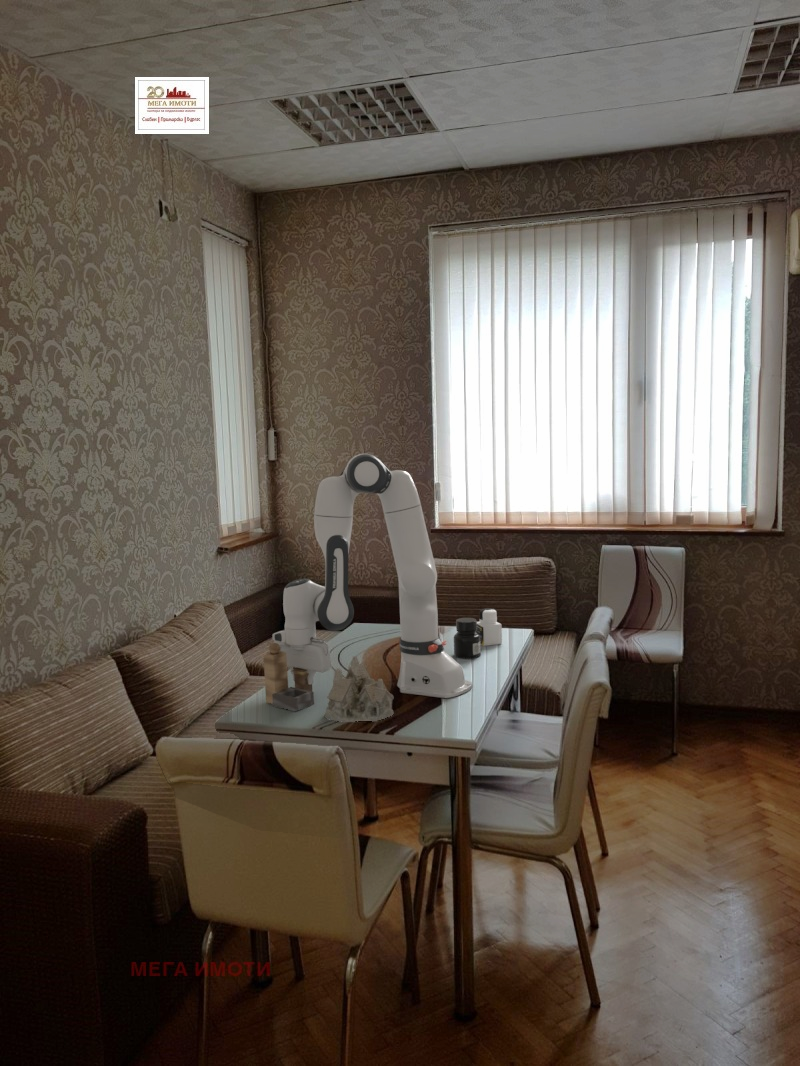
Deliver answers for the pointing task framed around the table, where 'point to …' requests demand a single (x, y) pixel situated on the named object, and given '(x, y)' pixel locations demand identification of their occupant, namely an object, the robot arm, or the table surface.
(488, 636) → the medicine bottle
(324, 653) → the robot arm
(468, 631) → the ink bottle
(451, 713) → the table surface
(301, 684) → the small wooden block
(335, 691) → the ceramic cottage
